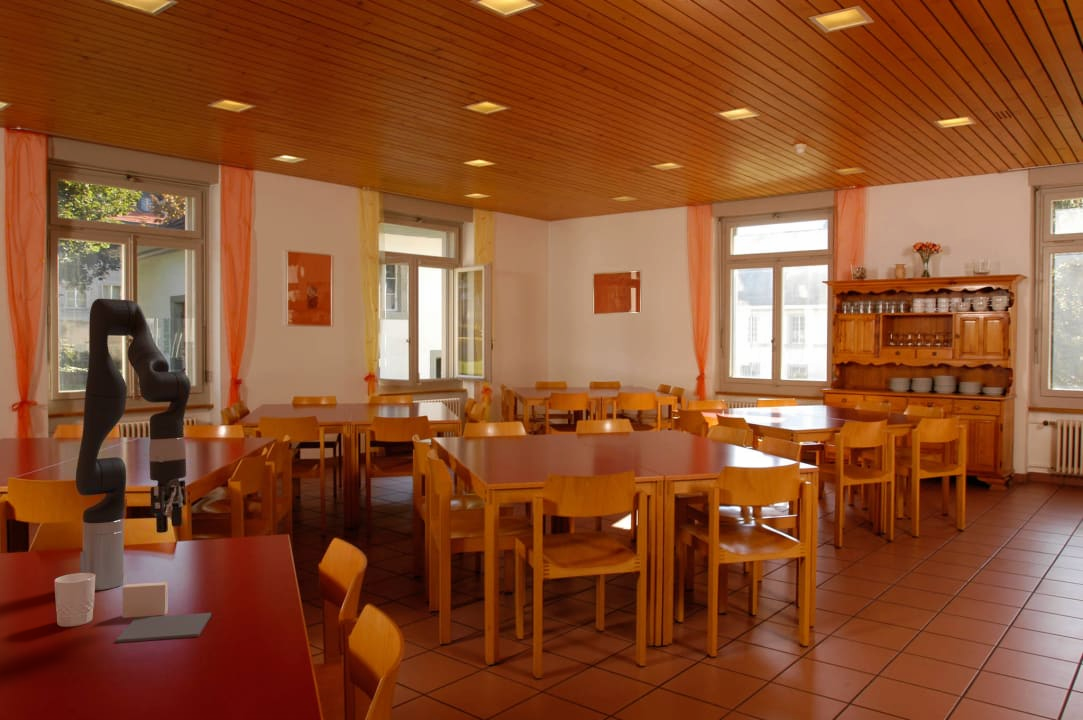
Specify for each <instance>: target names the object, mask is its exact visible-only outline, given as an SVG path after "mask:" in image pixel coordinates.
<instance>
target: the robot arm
mask: <svg viewBox="0 0 1083 720" xmlns="http://www.w3.org/2000/svg"><path fill="white" fill-rule="evenodd" d="M89 311H90V312H89V317H88V319H89V323H88V324H89V325H88V326H89V327H88V329H89V330H88V331H89V332H88V339H89V340H88V342H89V344H88V345H89V346H88V368H87V376H86V377H87V378H86V384H85V395H84V403H83V404H84V409H83V424H82V425H83V426H82V434H81V442H80V447H79V453H78V459H77V465H76V470H75V471H76V472H75V486H76V490H77V492H78V494H79V495H82V496H95V495H98V496H99V495H103V494H105V496H104V498H103V499H101V500H100V501H99V502H97V503H96V504H94V505H92V506H90V507H88V508H86V509H85V510H84V511H83V512H82V513H83V514H82V550H81V552H80V553H79V573H92V574H95V591H102V590H109V589H114V588H116V587H120V586H122V585H123V584H124V575H125V574H124V565H125V564H124V560H125V559H124V554H125V553H124V551H125V550H124V540H125V539H124V538H125V537H124V534H125V533H124V529H125V528H124V525H125V524H124V523H125V522H124V518H125V517H124V516H125V515H124V511H125V506H126V504H125V503H126V485H127V468H126V464H125V462H124V460H123V459H122V458H120V457H117V456H114V457H112V456H111V457H102V458H98V457H99V453H100V450H101V447H102V444H103V443H104V442H105V439H106V438H107V437H108V435H109V434H110V433H111V431H112V430H113V429H114V428H115V427H116V426H117V424H119V422H120V420H121V419H122V418H123V415H124V414H125V411H126V405H127V394H128V387H127V383H126V380H125V379H124V376H123V375H122V373H121V372H120V371H119V368H118V367H117V366H116V364H115V363H114V361H113V358H112V356H111V355H110V351H109V343H108V340H109V336H112V337H113V336H119V337H121V336H122V337H124V336H130V337H131V338H132V340H131V342H130V343H129V346H128V349H127V359H128V361H129V364H130V366H131V367H132V368H133V370H134V371H135V373H136V374H137V375H136V376H137V378H138V384H139V392H140V396H141V398H142V399H144V400H145V401H147V402H148V403H153V404H154V403H169V406H168V408H167V409H166V410H164V411H161V412H157V413H154V414H152V415H151V416H150V418H149V446H148V447H149V448H148V449H149V450H148V454H149V479H150V480H151V481H157V485H156V486H151V487H150V515H154V516H155V517H156V519H155V520H156V522H155V525H156V533H158V534H159V533H161V534H162V533H167V532H168V531H169V522H168V521H169V520H168V512H169V508H170V509H171V511H170V512H171V514H170V515H171V516H170V517H171V527H181V526H183V525H184V524H183V509H184V507H185V506H186V505H187V490H186V489H187V488H186V480H181V479H184V478H185V477H187V465H186V464H187V462H186V461H187V460H186V443H185V437H184V436H185V435H184V434H185V433H184V432H185V430H184V419H185V413H186V409H187V405H188V401H189V398H190V394H191V389H192V386H191V385H192V384H191V380H190V379H189V377H188V375H187V374H186V373H185V372H183V371H169V370H170V366H169V362H168V360H167V359H166V358H165V356H164V354H163V353H162V352H161V350H160V349H159V348H158V346H157V344H156V343H155V340H154V338H153V336H152V332H151V329H150V327H149V324H148V321H147V319H146V317H145V314H144V312H143V310H142V308H141V306H140V305H139V304H138V303H137V302H136V301H134V300H130V299H119V298H118V299H115V298H96V299H95V300H94V301H93V302H92V304H91V307H90V310H89ZM179 479H180V480H179Z"/></svg>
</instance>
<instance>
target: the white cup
mask: <svg viewBox="0 0 1083 720" xmlns="http://www.w3.org/2000/svg"><path fill="white" fill-rule="evenodd" d="M95 591H96V590H95V574H92V573H80V572H78V573H71V574H65V575H62V576H59V577H56V578H54V594H55V595H54V598H55V609H56V620H57V621H56V624H57V626H59V627H64V628H70V627H77V626H82V625H86V624H88V623H90V622H92V620H93V617H94V606H95V596H96V595H95V594H96V593H95Z"/></svg>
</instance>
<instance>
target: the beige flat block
mask: <svg viewBox="0 0 1083 720" xmlns="http://www.w3.org/2000/svg"><path fill="white" fill-rule="evenodd" d="M168 586H169V583H168V581H165V582H162V581H161V582H148V583H146V582H145V583H144V582H143V583H127V584H124V585H123V587H122V619H123V618H141V617H155V616H166V614H168V609H169V608H168V607H169V606H168V604H169V602H168V601H169V599H168V598H169V592H168V591H169V590H168V588H169V587H168Z"/></svg>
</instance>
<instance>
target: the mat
mask: <svg viewBox="0 0 1083 720" xmlns="http://www.w3.org/2000/svg"><path fill="white" fill-rule="evenodd" d="M211 617H212V612H201V613H200V612H199V613H189V614H172V615H157V616H142V617H134V619H133V620H132V621H131V622H130V624H129V625H128V626H127V627H125V629H124V630H123V631H122V632H121V634H119V636H118V637H117V638H116V639H115V643H117V644H118V643H130V642H131V643H132V642H142V641H143V642H144V641H145V642H146V641H156V640H157V641H158V640H171V639H183V638H197V637H199V636H200V635H201V633H202V632H203V630H204V628H205V627H206V625H207V623H208V622H209V619H210V618H211Z"/></svg>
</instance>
